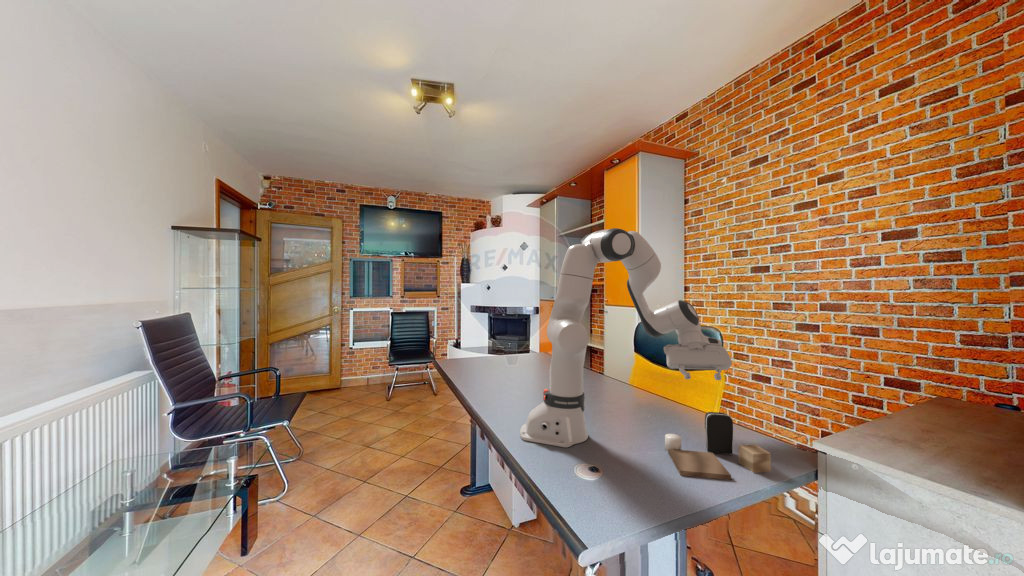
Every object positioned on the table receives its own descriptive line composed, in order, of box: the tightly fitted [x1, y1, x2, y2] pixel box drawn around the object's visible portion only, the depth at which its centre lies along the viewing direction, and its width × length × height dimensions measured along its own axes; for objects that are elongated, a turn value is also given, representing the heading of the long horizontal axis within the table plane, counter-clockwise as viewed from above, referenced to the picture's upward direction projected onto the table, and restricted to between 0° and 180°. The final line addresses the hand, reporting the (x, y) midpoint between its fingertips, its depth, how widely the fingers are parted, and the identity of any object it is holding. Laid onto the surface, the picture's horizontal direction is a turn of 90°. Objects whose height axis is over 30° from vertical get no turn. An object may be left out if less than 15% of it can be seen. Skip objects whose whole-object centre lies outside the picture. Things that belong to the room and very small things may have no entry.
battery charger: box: [704, 411, 734, 455], centre depth 101 cm, size 7×4×11 cm, turn 75°
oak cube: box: [738, 444, 772, 473], centre depth 92 cm, size 5×5×5 cm
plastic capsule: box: [664, 433, 682, 452], centre depth 102 cm, size 4×4×4 cm
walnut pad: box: [667, 449, 732, 481], centre depth 93 cm, size 12×12×1 cm
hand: (703, 378), depth 114 cm, fingers open, 8 cm apart
